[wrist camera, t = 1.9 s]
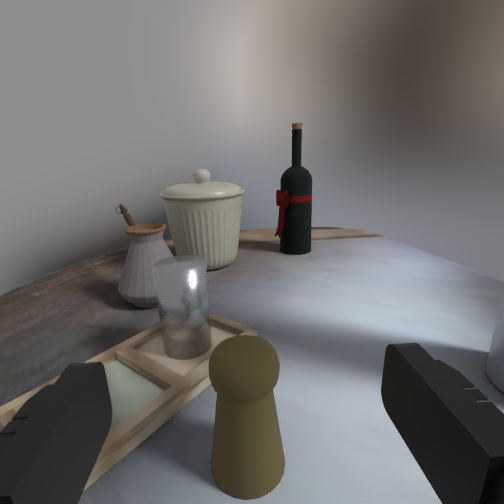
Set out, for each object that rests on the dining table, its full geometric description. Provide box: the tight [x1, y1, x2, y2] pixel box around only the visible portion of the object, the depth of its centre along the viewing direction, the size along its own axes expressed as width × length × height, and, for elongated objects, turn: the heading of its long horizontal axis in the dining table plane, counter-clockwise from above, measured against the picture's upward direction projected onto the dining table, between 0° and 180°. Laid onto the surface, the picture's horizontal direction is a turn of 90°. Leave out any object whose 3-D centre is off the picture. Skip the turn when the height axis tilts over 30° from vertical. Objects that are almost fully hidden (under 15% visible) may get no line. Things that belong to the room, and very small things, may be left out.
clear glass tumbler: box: [153, 255, 212, 360], centre depth 38 cm, size 6×6×11 cm
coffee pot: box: [116, 204, 173, 308], centre depth 58 cm, size 21×12×15 cm, turn 35°
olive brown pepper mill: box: [208, 335, 285, 500], centre depth 24 cm, size 6×6×11 cm
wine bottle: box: [275, 123, 312, 255], centre depth 75 cm, size 8×10×30 cm
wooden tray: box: [0, 313, 258, 492], centre depth 35 cm, size 25×12×2 cm, turn 144°
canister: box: [160, 169, 245, 270], centre depth 70 cm, size 18×18×21 cm
